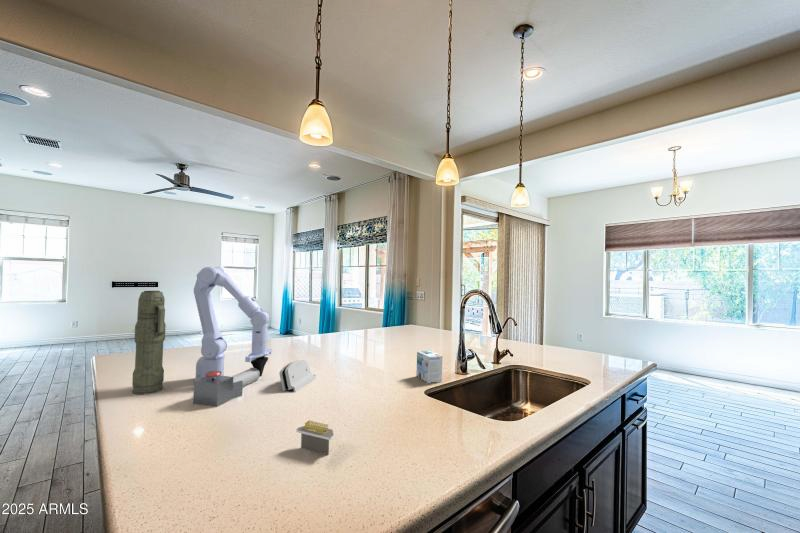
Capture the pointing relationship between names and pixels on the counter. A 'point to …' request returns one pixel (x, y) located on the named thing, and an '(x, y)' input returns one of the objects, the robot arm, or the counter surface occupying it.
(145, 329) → the thermos
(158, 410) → the counter surface
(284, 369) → the white rounded casing
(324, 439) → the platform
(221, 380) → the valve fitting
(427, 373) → the light bulb box
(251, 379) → the tube
